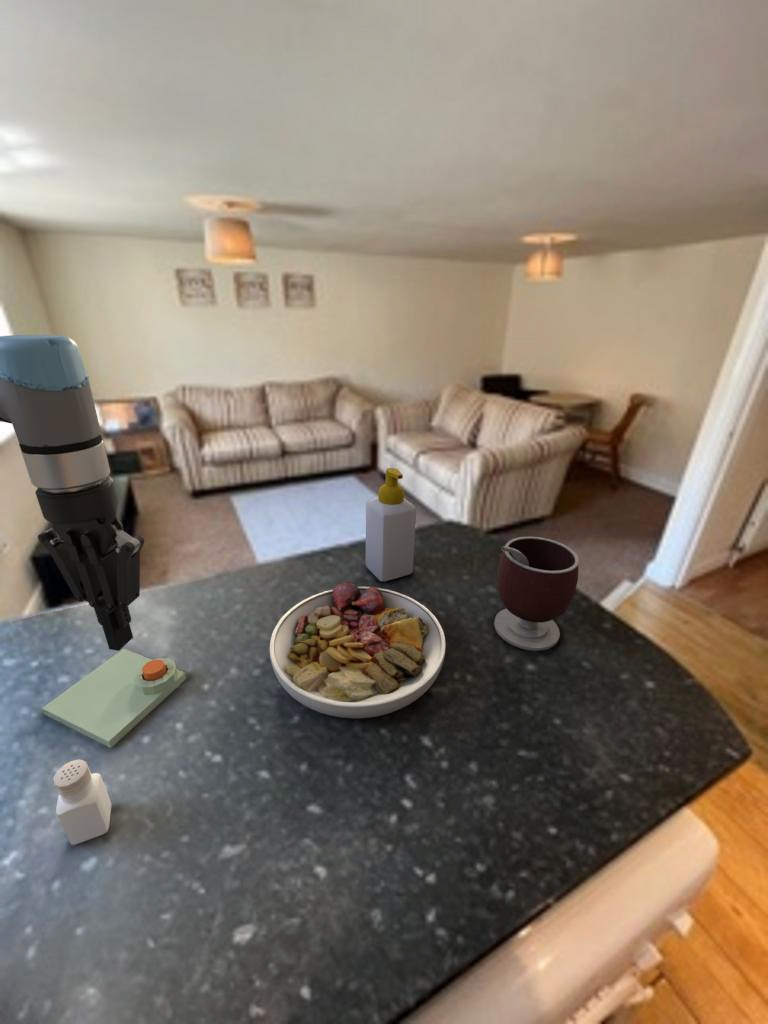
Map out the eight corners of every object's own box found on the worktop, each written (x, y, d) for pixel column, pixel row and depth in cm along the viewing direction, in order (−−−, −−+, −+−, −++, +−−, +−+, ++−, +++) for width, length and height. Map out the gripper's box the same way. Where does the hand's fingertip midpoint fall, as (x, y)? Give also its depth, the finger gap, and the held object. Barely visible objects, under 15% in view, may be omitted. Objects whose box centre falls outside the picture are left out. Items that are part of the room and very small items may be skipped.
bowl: (473, 706, 70) (478, 668, 67) (278, 751, 63) (274, 711, 59) (410, 596, 96) (412, 565, 93) (267, 619, 89) (263, 586, 85)
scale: (44, 714, 67) (38, 700, 66) (125, 654, 79) (121, 641, 78) (111, 748, 62) (105, 733, 61) (187, 678, 74) (184, 664, 73)
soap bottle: (381, 584, 100) (383, 480, 90) (363, 565, 107) (363, 466, 97) (414, 574, 104) (421, 473, 94) (395, 557, 111) (399, 461, 101)
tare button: (139, 677, 71) (137, 670, 70) (156, 664, 74) (154, 656, 73) (154, 683, 70) (152, 676, 69) (170, 670, 72) (169, 662, 72)
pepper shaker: (75, 815, 54) (52, 763, 50) (113, 802, 56) (93, 750, 52) (69, 849, 51) (44, 796, 47) (109, 834, 52) (88, 781, 48)
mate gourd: (532, 601, 96) (548, 517, 87) (579, 643, 84) (604, 551, 76) (469, 617, 91) (480, 529, 82) (511, 664, 79) (529, 567, 70)
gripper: (147, 474, 53) (181, 632, 63) (53, 466, 55) (100, 619, 65) (99, 499, 46) (145, 670, 56) (-6, 487, 49) (57, 655, 59)
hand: (121, 643), depth 61 cm, fingers closed
